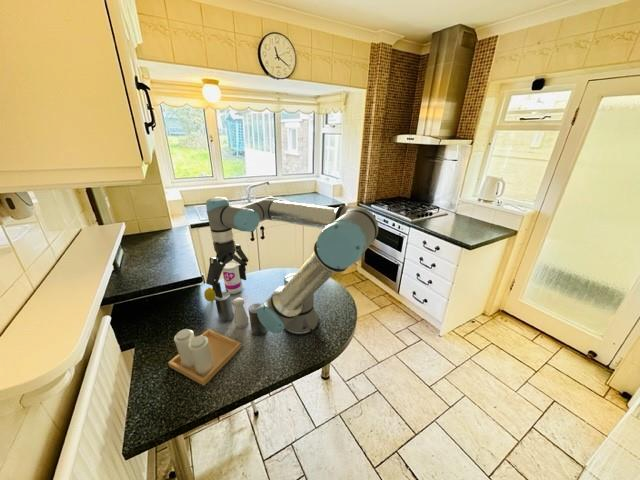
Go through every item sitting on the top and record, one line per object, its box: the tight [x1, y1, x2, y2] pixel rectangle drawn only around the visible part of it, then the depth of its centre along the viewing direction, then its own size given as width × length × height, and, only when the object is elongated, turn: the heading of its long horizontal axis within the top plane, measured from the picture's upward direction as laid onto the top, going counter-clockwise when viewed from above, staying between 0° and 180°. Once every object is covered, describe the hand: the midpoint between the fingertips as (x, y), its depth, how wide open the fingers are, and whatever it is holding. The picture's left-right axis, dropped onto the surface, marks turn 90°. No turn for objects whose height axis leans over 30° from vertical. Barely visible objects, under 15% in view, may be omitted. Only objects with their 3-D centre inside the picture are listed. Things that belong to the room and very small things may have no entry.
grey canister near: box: [248, 302, 267, 337], centre depth 104 cm, size 6×6×12 cm
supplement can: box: [222, 260, 243, 295], centre depth 130 cm, size 8×8×15 cm
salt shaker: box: [232, 297, 250, 329], centre depth 107 cm, size 6×6×13 cm
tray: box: [167, 328, 242, 387], centre depth 94 cm, size 17×18×3 cm
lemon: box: [203, 286, 216, 303], centre depth 123 cm, size 6×6×8 cm
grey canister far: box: [214, 291, 234, 324], centre depth 111 cm, size 6×6×12 cm
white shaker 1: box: [173, 328, 196, 368], centre depth 90 cm, size 6×6×13 cm
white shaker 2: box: [189, 335, 214, 376], centre depth 87 cm, size 6×6×13 cm
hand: (231, 287), depth 103 cm, fingers open, 13 cm apart
